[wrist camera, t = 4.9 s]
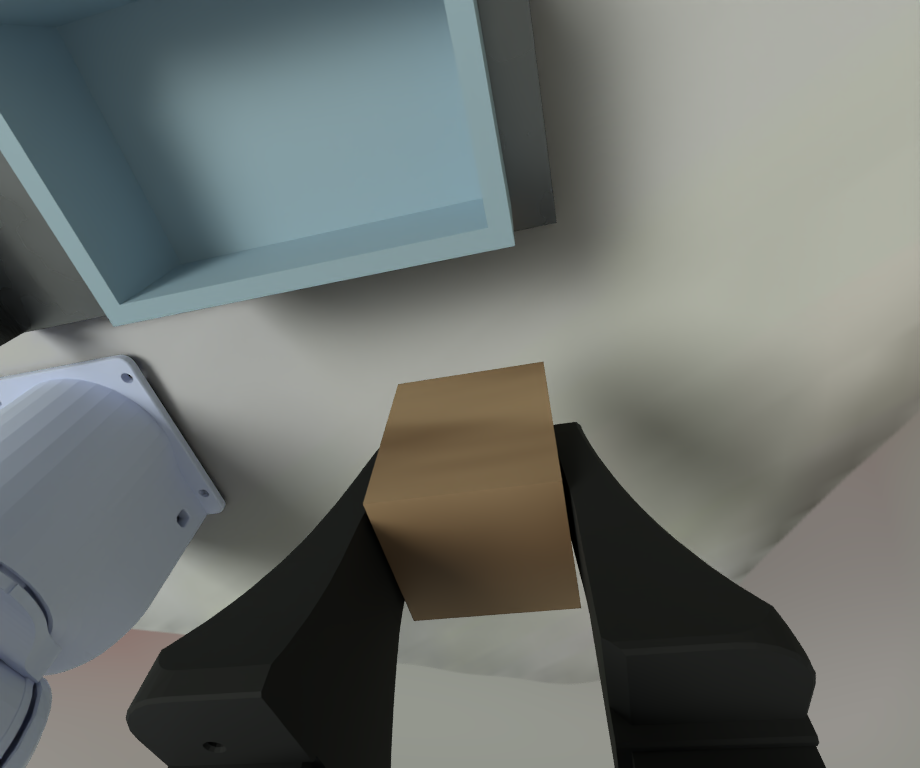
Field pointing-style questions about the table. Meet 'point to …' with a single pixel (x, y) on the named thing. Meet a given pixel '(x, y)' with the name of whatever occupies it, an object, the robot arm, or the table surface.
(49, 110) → the cart
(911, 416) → the table surface
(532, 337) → the table surface
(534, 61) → the rail
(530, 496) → the walnut block
